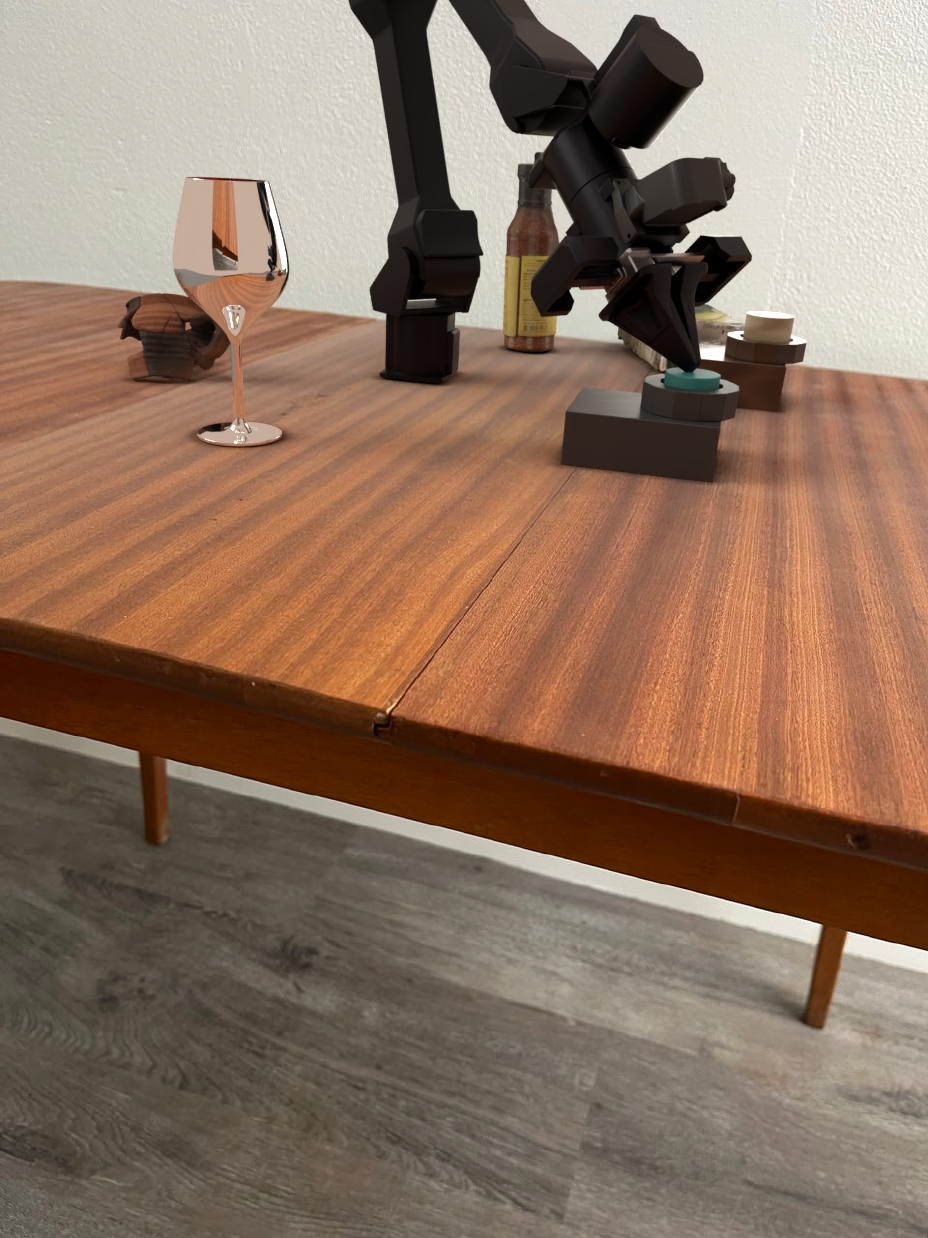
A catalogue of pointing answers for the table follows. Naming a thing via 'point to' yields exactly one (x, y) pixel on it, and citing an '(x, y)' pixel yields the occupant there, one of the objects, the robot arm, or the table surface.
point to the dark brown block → (648, 429)
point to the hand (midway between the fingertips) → (694, 368)
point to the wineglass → (231, 275)
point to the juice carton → (709, 328)
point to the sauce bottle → (528, 267)
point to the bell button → (768, 326)
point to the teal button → (692, 379)
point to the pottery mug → (171, 336)
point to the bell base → (753, 367)
